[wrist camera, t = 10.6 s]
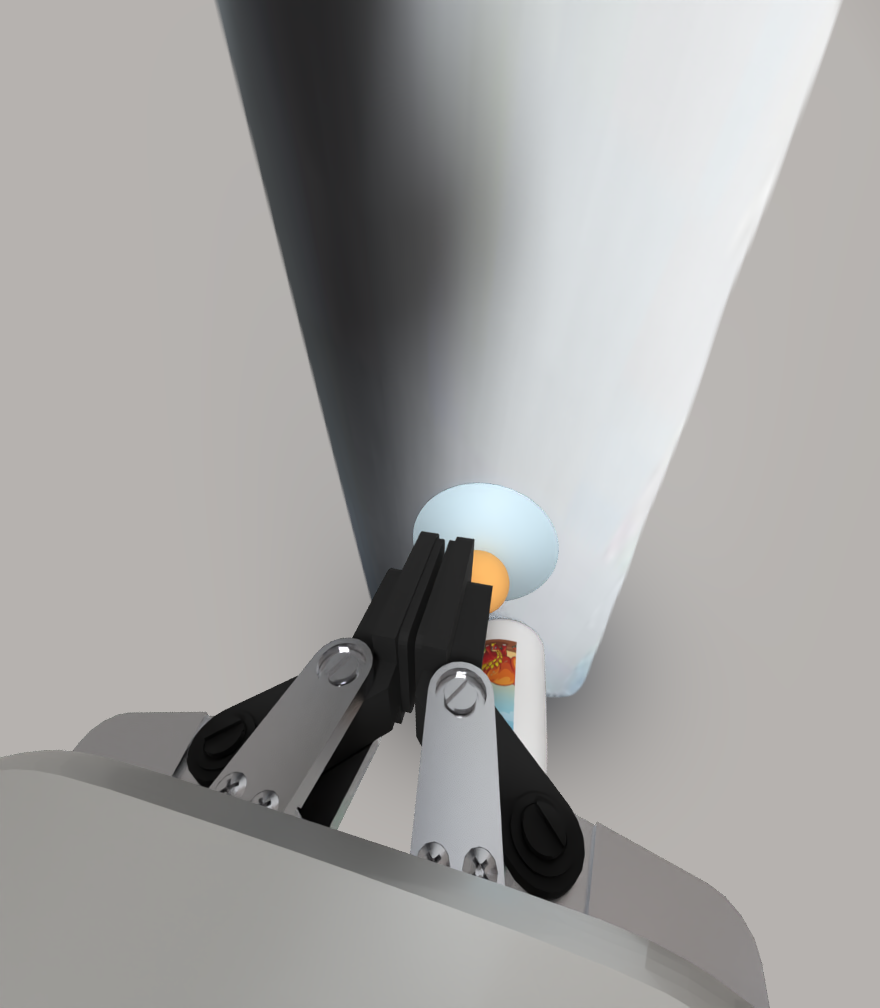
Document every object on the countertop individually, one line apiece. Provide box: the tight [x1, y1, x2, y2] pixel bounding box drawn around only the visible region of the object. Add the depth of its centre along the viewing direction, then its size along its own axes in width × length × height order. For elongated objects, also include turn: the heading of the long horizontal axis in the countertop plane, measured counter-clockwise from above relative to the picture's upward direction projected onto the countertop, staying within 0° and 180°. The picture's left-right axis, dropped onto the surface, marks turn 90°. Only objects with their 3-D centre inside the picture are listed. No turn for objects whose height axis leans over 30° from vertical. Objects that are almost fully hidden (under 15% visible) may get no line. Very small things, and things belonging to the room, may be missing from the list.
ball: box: [471, 550, 510, 613], centre depth 30 cm, size 6×6×6 cm
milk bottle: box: [482, 618, 547, 774], centre depth 29 cm, size 8×8×20 cm
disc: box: [413, 483, 559, 601], centre depth 32 cm, size 13×13×1 cm
